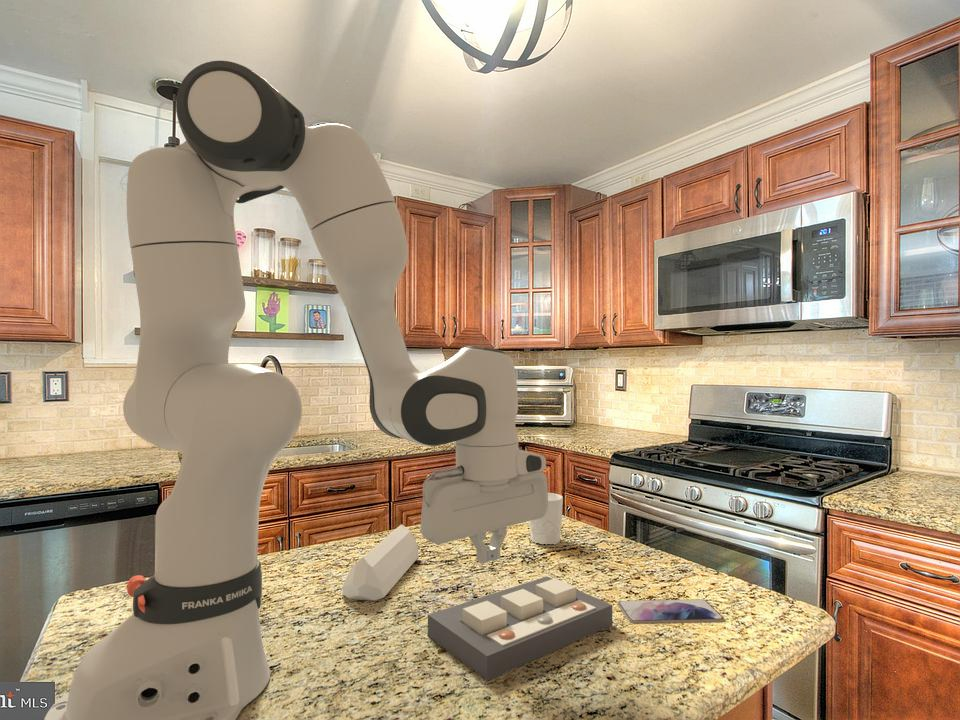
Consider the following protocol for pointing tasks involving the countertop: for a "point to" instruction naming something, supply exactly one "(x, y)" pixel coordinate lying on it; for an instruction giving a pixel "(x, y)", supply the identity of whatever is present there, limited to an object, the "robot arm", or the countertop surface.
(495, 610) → the button left
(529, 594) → the button middle
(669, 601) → the smartphone
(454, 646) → the button board
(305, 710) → the countertop surface
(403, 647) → the countertop surface
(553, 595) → the button right
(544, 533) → the white cup
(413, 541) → the beige chamfered bar
